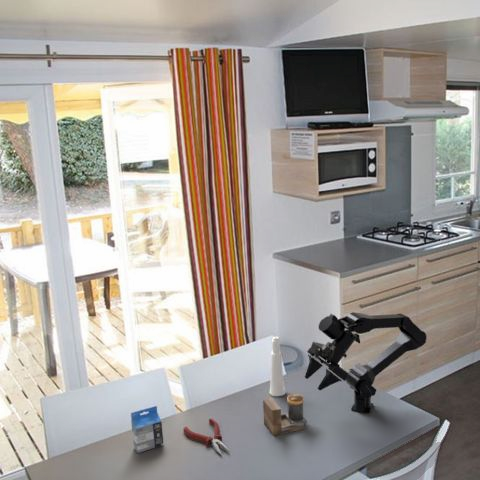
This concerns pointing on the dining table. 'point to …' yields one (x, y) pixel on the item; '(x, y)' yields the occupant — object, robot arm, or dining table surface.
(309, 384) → the dining table surface
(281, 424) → the mount
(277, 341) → the cosmetic bottle
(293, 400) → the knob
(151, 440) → the label tape box
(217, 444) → the pliers
